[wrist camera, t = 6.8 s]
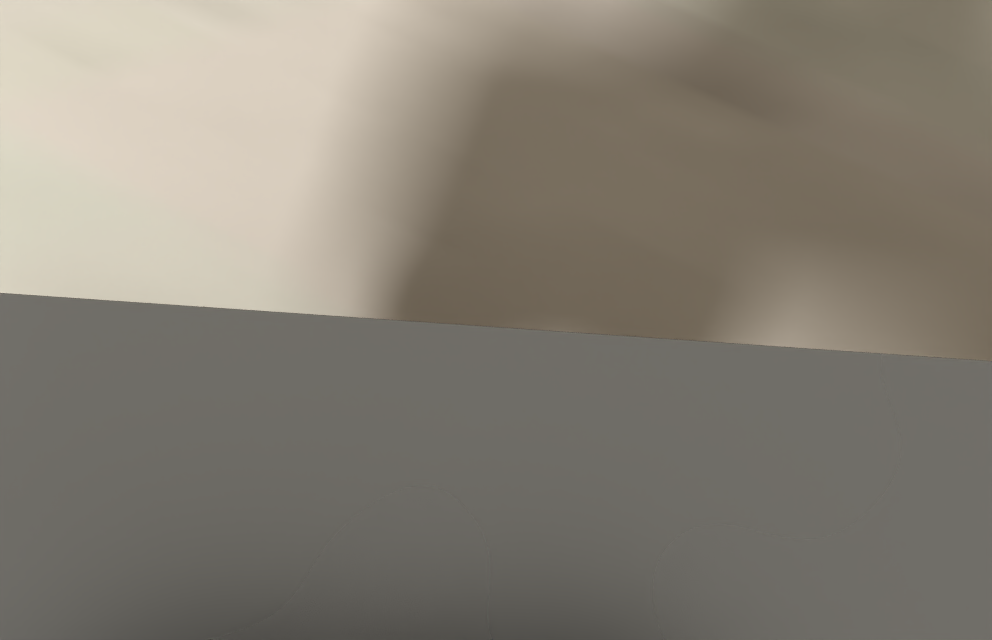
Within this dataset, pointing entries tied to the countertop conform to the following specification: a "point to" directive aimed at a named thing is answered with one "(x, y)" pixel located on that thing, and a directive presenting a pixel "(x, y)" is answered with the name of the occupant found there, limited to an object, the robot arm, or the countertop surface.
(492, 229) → the countertop surface
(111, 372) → the grey tower on plinth
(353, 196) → the countertop surface
